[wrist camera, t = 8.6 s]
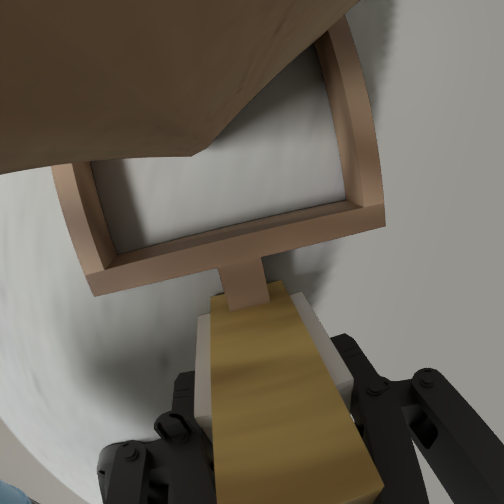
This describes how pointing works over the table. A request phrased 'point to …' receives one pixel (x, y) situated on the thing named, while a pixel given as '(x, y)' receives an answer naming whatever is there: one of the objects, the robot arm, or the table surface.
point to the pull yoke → (263, 315)
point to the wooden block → (139, 72)
